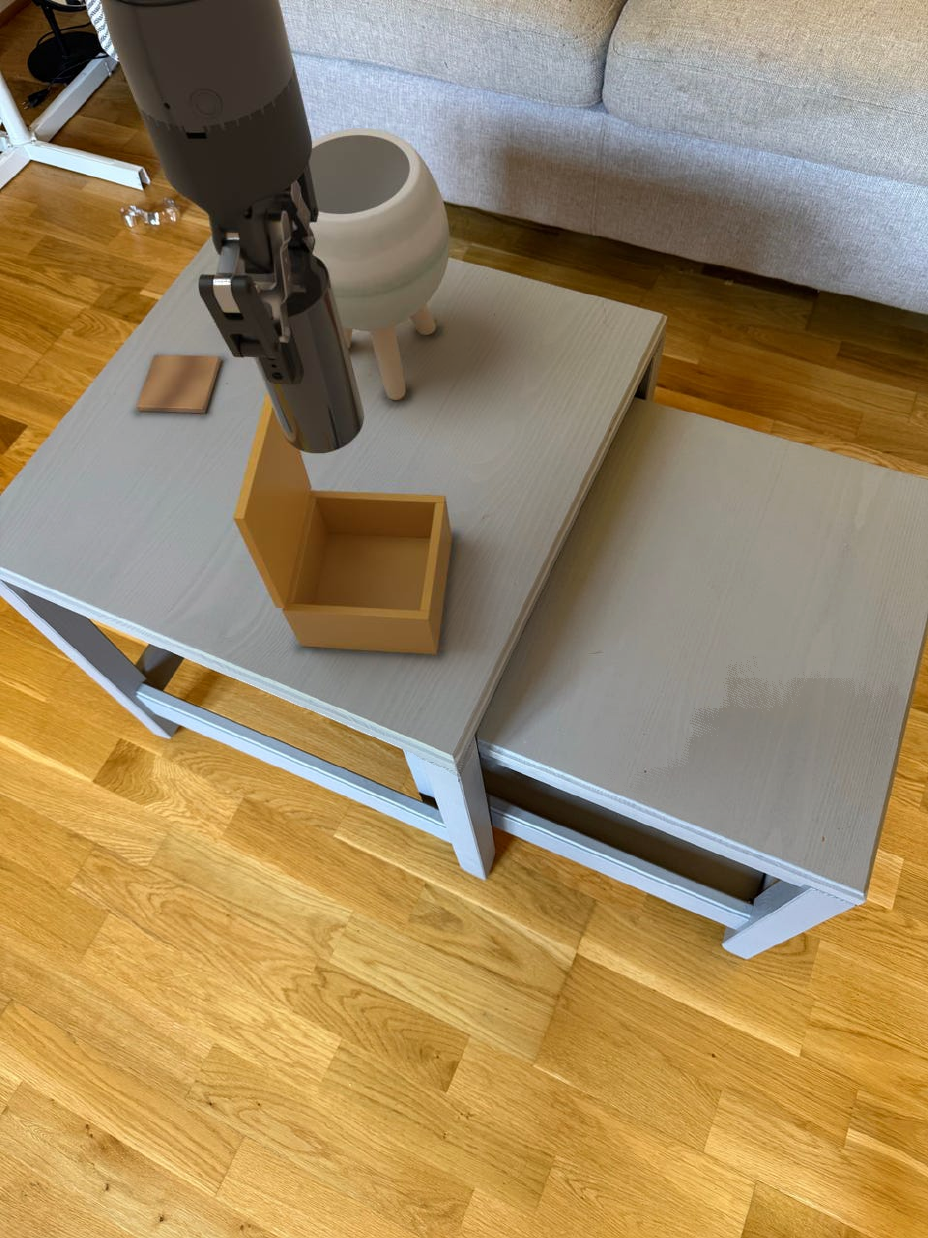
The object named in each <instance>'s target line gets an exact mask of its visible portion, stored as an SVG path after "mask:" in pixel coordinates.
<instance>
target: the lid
mask: <svg viewBox="0 0 928 1238" xmlns="http://www.w3.org/2000/svg"><path fill="white" fill-rule="evenodd" d="M259 415H260V416H259V420H258V423H257V427H256V430H255V435H254V438H253V441H252V446H251V449H250V452H249V457H248V461H247V465H246V468H245V472H244V476H243V480H242V484H241V487H240V491H239V494H238V498H237V501H236V506H235V508H234V513H233V517H232V519H233V520H234V523H235V526H236V527H237V529H238V532H239V533H240V535H241V538H242V540H243V542H244V544H245V546H246V548H247V550H248V552H249V555H250V556H251V558H252V560H253V563H254V565H255V567H256V570H257V572H258V573H259V575H260V577H261V580H262V582H263V584H264V586H265V588H266V590H267V592H268V594H269V597H270V599H271V600H272V603H273V605H274V607H275V608H276V609H283V608H285V606H286V601H287V596H288V592H289V587H290V583H291V578H292V574H293V569H294V565H295V560H296V556H297V551H298V547H299V542H300V538H301V533H302V529H303V524H304V520H305V515H306V511H307V506H308V502H309V497H310V493H311V490H312V489H313V486H312V484H311V481H310V478H309V475H308V474H309V473H308V471H307V468H306V465H305V462H304V459H303V456H302V451H301V450H299V449H297V448H295V447H294V446H292V445H291V444H290V443H289V442H288V441H287V440H286V438H285V437H284V435H283V432H282V429H281V427H280V424H279V422H278V419H277V416H276V414H275V411H274V408H273V406H272V403H271V401H270V398H269V395H268V393H267V392H266V393H265V397H264V400H263V403H262V408H261V412H260V414H259Z"/></svg>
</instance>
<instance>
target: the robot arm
mask: <svg viewBox="0 0 928 1238" xmlns="http://www.w3.org/2000/svg"><path fill="white" fill-rule="evenodd" d="M99 1H100V5H101V8H102V11H103V16H104V19H105V24H106V27H107V30H108V35H109V38H110V40H111V43H112V46H113V49H114V52H115V54H116V58H117V59H118V62H119V65H120V66H121V67H120V68H121V69H122V72H123V74H124V77H125V79H126V81H127V84H128V86H129V89H130V91H131V94H132V96H133V100H134V101H135V104H136V106H137V109H138V111H139V113H140V116H141V118H142V121H143V123H144V125H145V129H146V131H147V133H148V136H149V138H150V142H151V143H152V146H153V149H154V151H155V153H156V156H157V158H158V161H159V164H160V166H161V169H162V170H163V174H164V175H165V178H166V180H167V181H168V183H169V185H170V186H171V187H172V188H173V189H174V190H175V192H177V193H178V194H180V195H181V196H182V197H184V198H185V199H187V200H189V201H190V202H192V203H193V204H194V205H196V206H198V207H199V208H200V209H201V210H203V211H204V212H205V213H206V214H207V215H208V223H209V224H208V225H209V230H210V235H211V241H212V243H213V246H214V249H215V251H216V253H217V254H218V255H219V260H218V265H217V268H216V273H215V274H209V273H207V274H203V273H202V274H201V275H200V276H199V278H198V293H199V295H200V298H201V299H202V302H203V303H204V305H205V308H206V309H207V310H208V312H209V314H210V316H211V319H212V318H213V320H214V322H215V323H214V322H213V323H214V324H215V326H216V327H217V329H218V331H219V333H220V335H221V336H222V338H223V340H224V342H225V344H226V345H227V347H228V349H229V351H230V353H231V355H232V356H233V358H242V359H243V358H254V357H259V360H260V363H261V365H262V368H263V371H264V373H265V376H266V378H267V380H268V381H269V382H270V383H274V384H294V385H297V384H300V383H301V382H302V378H303V374H304V369H303V366H302V363H301V360H300V357H299V354H298V351H297V348H296V344H295V341H294V338H293V335H292V332H291V330H290V326H289V319H288V312H287V304H286V300H287V299H288V298H289V296H290V295H291V294H292V292H293V284H292V276H291V268H290V260H289V253H288V249H293V250H301V251H305V252H308V253H310V254H313V251H314V246H315V237H314V234H313V231H312V230H311V228H310V222H315V223H316V222H317V219H318V215H319V210H318V207H317V202H316V197H315V192H314V187H313V181H312V176H311V171H310V166H309V160H310V157H311V152H312V141H313V138H312V134H311V130H310V125H309V121H308V116H307V113H306V108H305V104H304V100H303V96H302V91H301V88H300V84H299V83H300V82H299V79H298V74H297V70H296V65H295V62H294V58H293V53H292V49H291V44H290V41H289V40H290V39H289V37H288V32H287V28H286V24H285V19H284V14H283V11H282V8H281V4H280V3H281V2H280V0H99ZM300 192H301V196H300ZM273 272H275V278H276V282H253V279H252V277H251V276H250V275H246V274H245V273H248V274H271V273H273ZM263 302H266V303H269V304H270V305H271V307H272V313H273V320H271V319H270V317H269V315H268V312H267V310H266V308H265V306H264V304H263Z"/></svg>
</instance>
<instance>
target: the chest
mask: <svg viewBox="0 0 928 1238" xmlns="http://www.w3.org/2000/svg"><path fill="white" fill-rule="evenodd" d="M447 503H448V502H447V498H446V495H440V494H439V495H438V494H416V493H415V494H414V493H413V494H412V493H411V494H410V493H387V492H366V491H365V492H362V491H361V492H360V491H338V490H316V489H315V490H313V489H311V493H310V497H309V502H308V506H307V511H306V515H305V520H304V524H303V529H302V533H301V538H300V542H299V547H298V551H297V556H296V560H295V565H294V569H293V574H292V578H291V583H290V587H289V592H288V596H287V601H286V606H285V608H281V611H282V613H283V616H284V617H285V619H286V621H287V624H288V625H289V626H290V629H291V631H292V633H293V634H294V636H295V639H296V640H297V642H298V644H299V645H300V647H308V648H309V647H310V648H323V649H340V650H358V651H371V652H372V651H373V652H389V653H405V654H406V653H407V654H423V655H437V653H438V648H439V641H440V633H441V625H442V618H443V609H444V603H445V594H446V587H447V579H448V572H449V571H448V570H449V564H450V556H451V548H452V540H453V534H452V529H451V523H450V522H451V521H450V517H449V511H448V504H447Z"/></svg>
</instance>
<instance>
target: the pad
mask: <svg viewBox="0 0 928 1238" xmlns="http://www.w3.org/2000/svg"><path fill="white" fill-rule="evenodd" d="M152 357H153V358H152V361H151V363H150V366H149V369H148V372H147V375H146V377H145V381H144V383H143V386H142V389H141V392H140V395H139V398H138V401H137V404H136V409H137V411H138V412H145V413H146V412H150V413H153V412H154V413H178V414H179V413H184V414H206V413H207V412H206V411H207V408H208V406H209V402H210V399H211V395H212V392H213V389H214V385H215V382H216V379H217V376H218V372H219V368H220V366H221V362H222V360H221V358H220V356H219V355H186V354H185V355H179V354H154V355H153V356H152Z"/></svg>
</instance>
